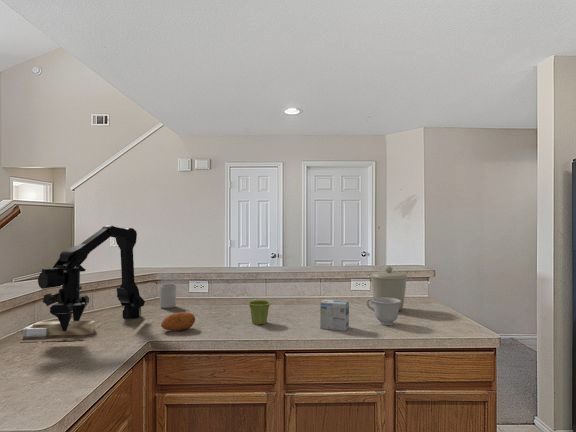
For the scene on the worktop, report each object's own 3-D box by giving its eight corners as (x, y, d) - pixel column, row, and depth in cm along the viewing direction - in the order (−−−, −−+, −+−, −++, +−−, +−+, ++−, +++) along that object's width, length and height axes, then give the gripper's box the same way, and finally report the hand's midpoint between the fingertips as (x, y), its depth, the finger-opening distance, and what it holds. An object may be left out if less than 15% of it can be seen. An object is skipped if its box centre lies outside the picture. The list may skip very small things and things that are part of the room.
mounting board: (104, 325, 158) (104, 321, 158) (83, 341, 137) (83, 336, 137) (50, 326, 156) (50, 322, 156) (19, 342, 135) (19, 338, 135)
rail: (95, 331, 144) (95, 320, 145) (91, 334, 140) (91, 323, 141) (38, 332, 142) (38, 321, 142) (32, 335, 138) (32, 324, 138)
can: (171, 309, 188) (171, 284, 188) (157, 308, 189) (157, 283, 189) (178, 306, 195) (178, 282, 195) (164, 305, 196) (165, 281, 197)
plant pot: (274, 321, 165) (274, 301, 166) (263, 327, 157) (264, 305, 157) (255, 319, 169) (255, 299, 169) (244, 324, 161) (244, 303, 161)
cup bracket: (56, 330, 145) (56, 322, 145) (45, 337, 137) (46, 328, 137) (34, 331, 144) (34, 323, 144) (22, 337, 136) (22, 329, 136)
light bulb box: (349, 327, 158) (349, 300, 158) (346, 331, 152) (346, 303, 152) (323, 324, 161) (323, 298, 162) (319, 328, 155) (319, 301, 155)
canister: (412, 308, 193) (412, 265, 193) (401, 315, 178) (401, 269, 178) (377, 303, 203) (377, 263, 203) (364, 310, 187) (364, 266, 188)
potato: (196, 331, 151) (196, 312, 151) (161, 334, 146) (162, 315, 146) (193, 326, 157) (193, 308, 157) (160, 329, 152) (160, 311, 153)
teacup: (372, 317, 173) (372, 295, 173) (405, 323, 164) (405, 299, 165) (360, 323, 163) (360, 299, 163) (395, 329, 155) (395, 304, 155)
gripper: (59, 281, 150) (59, 321, 150) (33, 289, 132) (33, 335, 131) (89, 280, 151) (89, 320, 151) (68, 289, 133) (67, 334, 133)
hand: (70, 327), depth 142 cm, fingers open, 9 cm apart
